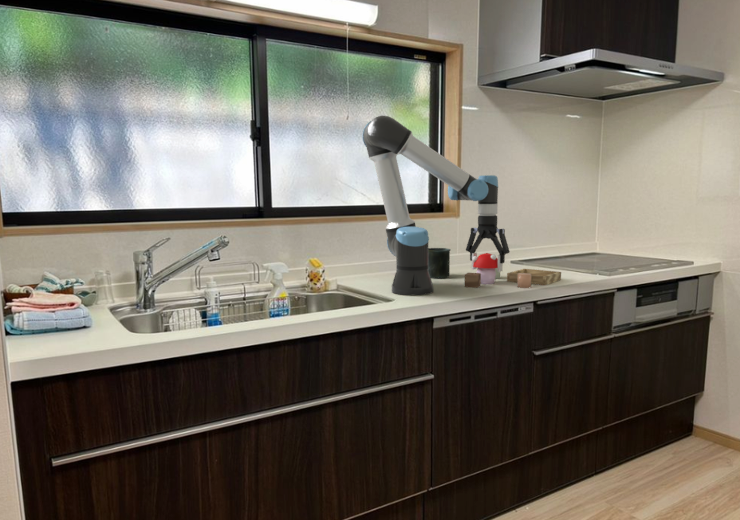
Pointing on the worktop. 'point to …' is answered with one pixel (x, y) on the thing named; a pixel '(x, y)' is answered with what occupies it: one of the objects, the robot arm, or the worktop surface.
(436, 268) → the mug
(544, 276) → the bamboo tray
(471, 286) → the walnut block
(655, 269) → the worktop surface
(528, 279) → the peach rounded block
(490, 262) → the mushroom
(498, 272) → the sage block
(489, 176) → the robot arm
